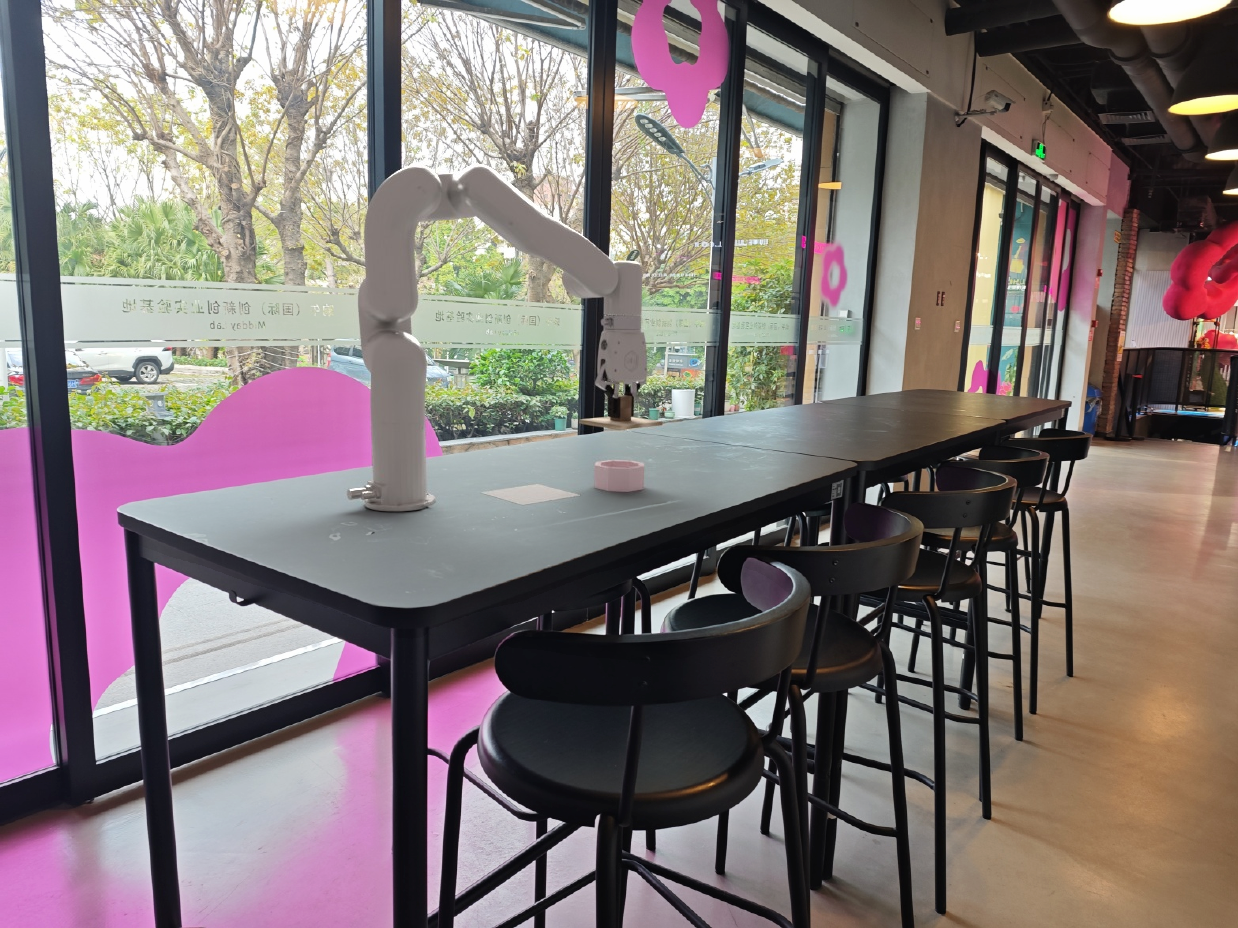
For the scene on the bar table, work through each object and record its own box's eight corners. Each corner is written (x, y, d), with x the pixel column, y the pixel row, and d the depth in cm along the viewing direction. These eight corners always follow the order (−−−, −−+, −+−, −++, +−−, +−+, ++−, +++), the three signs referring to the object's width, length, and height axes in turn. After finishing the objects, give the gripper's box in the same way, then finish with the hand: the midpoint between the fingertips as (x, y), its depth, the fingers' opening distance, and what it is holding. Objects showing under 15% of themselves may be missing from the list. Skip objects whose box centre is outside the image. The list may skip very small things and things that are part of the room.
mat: (522, 507, 153) (522, 505, 153) (479, 494, 163) (479, 492, 163) (580, 497, 163) (581, 495, 163) (537, 485, 173) (537, 483, 173)
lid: (618, 429, 161) (619, 399, 160) (578, 423, 170) (579, 394, 169) (662, 425, 169) (663, 396, 168) (622, 419, 178) (622, 392, 177)
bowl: (617, 495, 165) (618, 470, 164) (584, 487, 172) (585, 463, 171) (653, 489, 172) (654, 465, 171) (620, 481, 179) (621, 458, 178)
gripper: (604, 325, 158) (602, 421, 161) (664, 325, 169) (662, 415, 172) (578, 324, 164) (577, 417, 167) (638, 324, 174) (636, 412, 178)
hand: (620, 415), depth 169 cm, fingers closed on lid, 3 cm apart
